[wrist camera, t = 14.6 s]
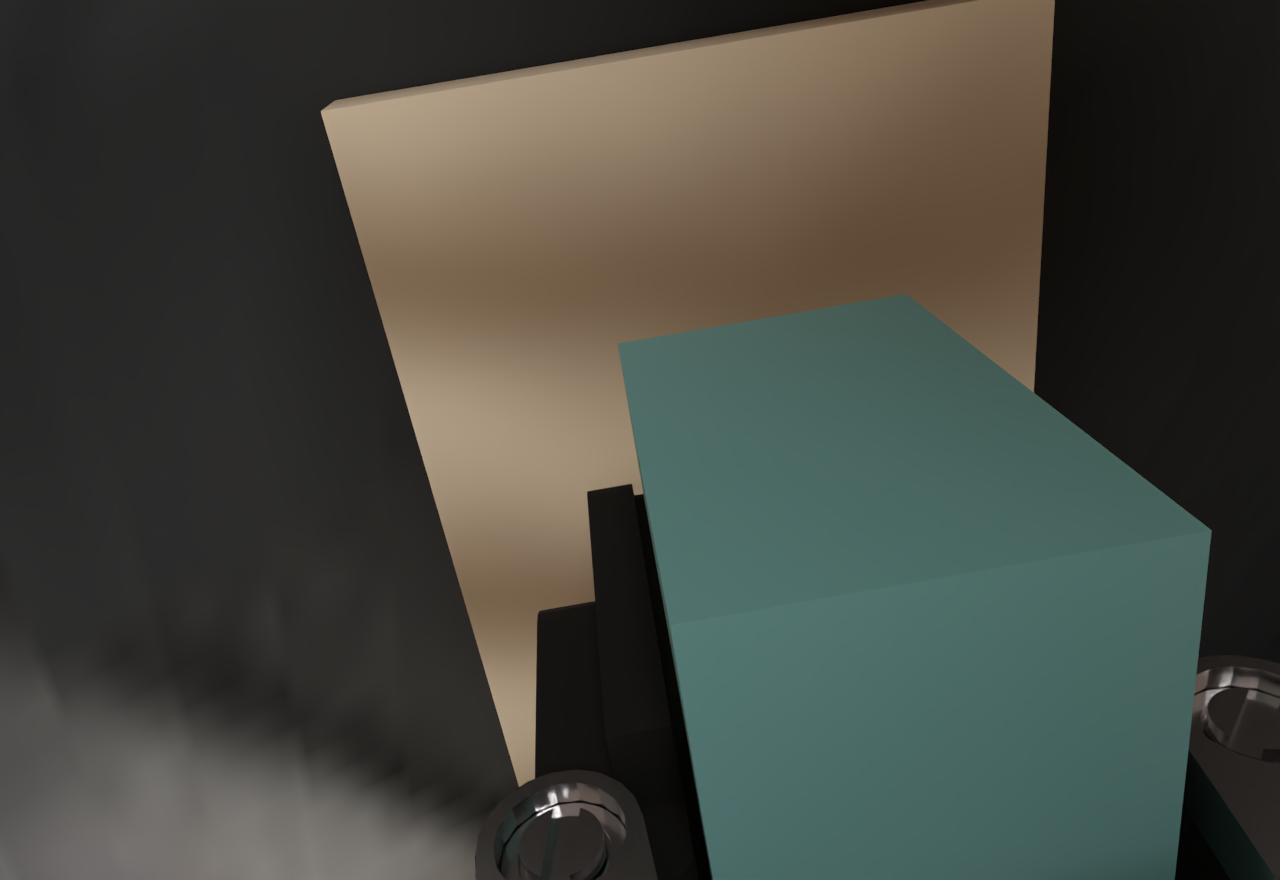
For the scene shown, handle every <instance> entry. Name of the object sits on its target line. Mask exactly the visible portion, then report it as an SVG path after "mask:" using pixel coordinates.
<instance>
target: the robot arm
mask: <svg viewBox="0 0 1280 880" xmlns="http://www.w3.org/2000/svg"><path fill="white" fill-rule="evenodd" d="M587 500H588V513H589V527H590V540H591V553H592V567H593V580H594V593H595V601H593V602H587V603H581V604H575V605H570V606H564V607H558V608H553V609H547V610H541V611H539V613H538V618H537V663H536V732H535V779H533V780H530V781H528V782H526V783H525V784H523V785H522V786H520V787H519V788H517V789H516V790H514V791H513V792H511V793H510V794H508V795H507V796H506V797H505V798H504V799H503V800H502V801H501V802H500V803H499V804H498V805H497V806H496V807H495V808H494V810H493V811H492V812H491V813H490V814H489V816H488V818H487V820H486V822H485V824H484V826H483V827H482V829H481V831H480V833H479V836H478V842H477V849H476V855H475V868H476V880H711V876H710V870H709V864H708V858H707V852H706V846H705V840H704V834H703V828H702V823H701V817H700V811H699V805H698V799H697V793H696V787H695V781H694V775H693V770H692V764H691V758H690V752H689V746H688V740H687V734H686V729H685V723H684V717H683V712H682V706H681V700H680V695H679V689H678V684H677V678H676V672H675V667H674V661H673V656H672V650H671V645H670V639H669V634H668V628H667V622H666V617H665V611H664V606H663V600H662V595H661V589H660V584H659V578H658V572H657V567H656V561H655V556H654V550H653V545H652V539H651V534H650V528H649V522H648V517H647V511H646V506H645V500H644V495H643V494H640V495H634V491H633V486H632V484H627V485H621V486H615V487H609V488H604V489H598V490H592V491H587ZM1175 880H1280V664H1277V663H1275V662H1272V661H1268V660H1262V659H1257V658H1251V657H1245V656H1209V657H1205V658H1201V659H1198V664H1197V673H1196V683H1195V692H1194V702H1193V711H1192V721H1191V730H1190V740H1189V749H1188V758H1187V768H1186V777H1185V787H1184V796H1183V806H1182V815H1181V825H1180V834H1179V844H1178V853H1177V862H1176V872H1175Z"/></svg>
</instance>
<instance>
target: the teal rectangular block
mask: <svg viewBox="0 0 1280 880" xmlns="http://www.w3.org/2000/svg"><path fill="white" fill-rule="evenodd" d="M618 349H619V355H620V360H621V366H622V372H623V378H624V384H625V390H626V395H627V401H628V407H629V413H630V419H631V425H632V430H633V436H634V442H635V448H636V454H637V460H638V466H639V471H640V477H641V483H642V489H643V495H644V500H645V506H646V511H647V517H648V522H649V528H650V534H651V539H652V545H653V550H654V556H655V561H656V567H657V572H658V578H659V584H660V589H661V595H662V600H663V606H664V611H665V617H666V622H667V628H668V634H669V639H670V645H671V650H672V656H673V661H674V667H675V672H676V678H677V684H678V689H679V695H680V700H681V706H682V712H683V717H684V723H685V729H686V734H687V740H688V746H689V752H690V758H691V764H692V770H693V775H694V781H695V787H696V793H697V799H698V805H699V811H700V817H701V823H702V828H703V834H704V840H705V846H706V852H707V858H708V864H709V870H710V876H711V880H1175V872H1176V862H1177V853H1178V844H1179V834H1180V825H1181V815H1182V806H1183V796H1184V787H1185V777H1186V768H1187V758H1188V749H1189V740H1190V730H1191V721H1192V711H1193V702H1194V692H1195V683H1196V673H1197V664H1198V654H1199V645H1200V635H1201V626H1202V617H1203V607H1204V598H1205V588H1206V579H1207V569H1208V560H1209V550H1210V541H1211V531H1212V530H1210V529H1209V528H1208V527H1207V526H1205V525H1204V524H1203V523H1201V522H1200V521H1199V520H1197V519H1196V518H1195V517H1194V516H1192V515H1191V514H1190V513H1188V512H1187V511H1186V510H1185V509H1183V508H1182V507H1181V506H1179V505H1178V504H1177V503H1176V502H1174V501H1173V500H1172V499H1170V498H1169V497H1168V496H1166V495H1165V494H1164V493H1163V492H1161V491H1160V490H1159V489H1157V488H1156V487H1155V486H1154V485H1152V484H1151V483H1150V482H1148V481H1147V480H1146V479H1145V478H1143V477H1142V476H1141V475H1139V474H1138V473H1137V472H1136V471H1134V470H1133V469H1132V468H1130V467H1129V466H1128V465H1126V464H1125V463H1124V462H1123V461H1121V460H1120V459H1119V458H1117V457H1116V456H1115V455H1114V454H1112V453H1111V452H1110V451H1108V450H1107V449H1106V448H1105V447H1103V446H1102V445H1101V444H1099V443H1098V442H1097V441H1095V440H1094V439H1093V438H1092V437H1090V436H1089V435H1088V434H1086V433H1085V432H1084V431H1083V430H1081V429H1080V428H1079V427H1077V426H1076V425H1075V424H1074V423H1072V422H1071V421H1070V420H1068V419H1067V418H1066V417H1064V416H1063V415H1062V414H1061V413H1059V412H1058V411H1057V410H1055V409H1054V408H1053V407H1052V406H1050V405H1049V404H1048V403H1046V402H1045V401H1044V400H1043V399H1041V398H1040V397H1039V396H1037V395H1036V394H1035V393H1033V392H1032V391H1031V390H1030V389H1028V388H1027V387H1026V386H1024V385H1023V384H1022V383H1021V382H1019V381H1018V380H1017V379H1015V378H1014V377H1013V376H1012V375H1010V374H1009V373H1008V372H1006V371H1005V370H1004V369H1003V368H1001V367H1000V366H999V365H997V364H996V363H995V362H993V361H992V360H991V359H990V358H988V357H987V356H986V355H984V354H983V353H982V352H981V351H979V350H978V349H977V348H975V347H974V346H973V345H972V344H970V343H969V342H968V341H966V340H965V339H964V338H962V337H961V336H960V335H959V334H957V333H956V332H955V331H953V330H952V329H951V328H950V327H948V326H947V325H946V324H944V323H943V322H942V321H941V320H939V319H938V318H937V317H935V316H934V315H933V314H931V313H930V312H929V311H928V310H926V309H925V308H924V307H922V306H921V305H920V304H919V303H917V302H916V301H915V300H913V299H912V298H911V297H910V296H908V295H907V294H902V295H897V296H891V297H885V298H879V299H873V300H868V301H862V302H856V303H850V304H844V305H838V306H833V307H827V308H821V309H815V310H809V311H804V312H798V313H792V314H786V315H780V316H775V317H769V318H763V319H757V320H751V321H745V322H740V323H734V324H728V325H722V326H716V327H711V328H705V329H699V330H693V331H687V332H682V333H676V334H670V335H664V336H658V337H652V338H647V339H641V340H635V341H629V342H623V343H618Z"/></svg>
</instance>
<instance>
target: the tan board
mask: <svg viewBox="0 0 1280 880" xmlns="http://www.w3.org/2000/svg"><path fill="white" fill-rule="evenodd" d="M1054 7H1055V0H928V1H922V2H916V3H910V4H904V5H898V6H892V7H886V8H880V9H874V10H868V11H863V12H857V13H851V14H845V15H839V16H833V17H827V18H821V19H815V20H809V21H803V22H797V23H791V24H785V25H779V26H774V27H768V28H762V29H756V30H750V31H744V32H738V33H732V34H726V35H720V36H714V37H708V38H702V39H696V40H690V41H685V42H679V43H673V44H667V45H661V46H655V47H649V48H643V49H637V50H631V51H625V52H619V53H613V54H607V55H601V56H596V57H590V58H584V59H578V60H572V61H566V62H560V63H554V64H548V65H542V66H536V67H530V68H524V69H518V70H512V71H507V72H501V73H495V74H489V75H483V76H477V77H471V78H465V79H459V80H453V81H447V82H441V83H435V84H429V85H423V86H418V87H412V88H406V89H400V90H394V91H388V92H382V93H376V94H370V95H364V96H358V97H352V98H346V99H340V100H335V101H334V102H332V103H331V104H330V105H328V106H327V107H326V108H324V109H323V110H322V111H321V115H322V118H323V121H324V125H325V128H326V132H327V135H328V138H329V142H330V145H331V149H332V152H333V155H334V159H335V162H336V166H337V169H338V172H339V176H340V179H341V183H342V186H343V189H344V193H345V196H346V200H347V203H348V206H349V210H350V213H351V217H352V220H353V223H354V227H355V230H356V234H357V237H358V240H359V244H360V247H361V251H362V254H363V257H364V261H365V264H366V268H367V271H368V274H369V278H370V281H371V285H372V288H373V292H374V295H375V298H376V302H377V305H378V309H379V312H380V315H381V319H382V322H383V326H384V329H385V332H386V336H387V339H388V343H389V346H390V349H391V353H392V356H393V360H394V363H395V366H396V370H397V373H398V377H399V380H400V383H401V387H402V390H403V394H404V397H405V400H406V404H407V407H408V411H409V414H410V417H411V421H412V424H413V428H414V431H415V434H416V438H417V441H418V445H419V448H420V451H421V455H422V458H423V462H424V465H425V469H426V472H427V475H428V479H429V482H430V486H431V489H432V492H433V496H434V499H435V503H436V506H437V509H438V513H439V516H440V520H441V523H442V526H443V530H444V533H445V537H446V540H447V543H448V547H449V550H450V554H451V557H452V560H453V564H454V567H455V571H456V574H457V577H458V581H459V584H460V588H461V591H462V594H463V598H464V601H465V605H466V608H467V611H468V615H469V618H470V622H471V625H472V629H473V632H474V635H475V639H476V642H477V646H478V649H479V652H480V656H481V659H482V663H483V666H484V669H485V673H486V676H487V680H488V683H489V686H490V690H491V693H492V697H493V700H494V703H495V707H496V710H497V714H498V717H499V720H500V724H501V727H502V731H503V734H504V737H505V741H506V744H507V748H508V751H509V754H510V758H511V761H512V765H513V768H514V771H515V775H516V778H517V782H518V785H519V787H520V786H522V785H523V784H525V783H526V782H528V781H530V780H533V779H535V732H536V663H537V618H538V613H539V611H541V610H547V609H553V608H558V607H564V606H570V605H575V604H581V603H587V602H593V601H595V593H594V580H593V567H592V553H591V540H590V527H589V513H588V500H587V491H592V490H598V489H604V488H609V487H615V486H621V485H627V484H632V486H633V491H634V495H640V494H643V489H642V483H641V477H640V471H639V466H638V460H637V454H636V448H635V442H634V436H633V430H632V425H631V419H630V413H629V407H628V401H627V395H626V390H625V384H624V378H623V372H622V366H621V360H620V355H619V349H618V343H623V342H629V341H635V340H641V339H647V338H652V337H658V336H664V335H670V334H676V333H682V332H687V331H693V330H699V329H705V328H711V327H716V326H722V325H728V324H734V323H740V322H745V321H751V320H757V319H763V318H769V317H775V316H780V315H786V314H792V313H798V312H804V311H809V310H815V309H821V308H827V307H833V306H838V305H844V304H850V303H856V302H862V301H868V300H873V299H879V298H885V297H891V296H897V295H902V294H907V295H908V296H910V297H911V298H912V299H913V300H915V301H916V302H917V303H919V304H920V305H921V306H922V307H924V308H925V309H926V310H928V311H929V312H930V313H931V314H933V315H934V316H935V317H937V318H938V319H939V320H941V321H942V322H943V323H944V324H946V325H947V326H948V327H950V328H951V329H952V330H953V331H955V332H956V333H957V334H959V335H960V336H961V337H962V338H964V339H965V340H966V341H968V342H969V343H970V344H972V345H973V346H974V347H975V348H977V349H978V350H979V351H981V352H982V353H983V354H984V355H986V356H987V357H988V358H990V359H991V360H992V361H993V362H995V363H996V364H997V365H999V366H1000V367H1001V368H1003V369H1004V370H1005V371H1006V372H1008V373H1009V374H1010V375H1012V376H1013V377H1014V378H1015V379H1017V380H1018V381H1019V382H1021V383H1022V384H1023V385H1024V386H1026V387H1027V388H1028V389H1030V390H1031V391H1032V392H1033V393H1034V380H1035V361H1036V343H1037V324H1038V305H1039V287H1040V268H1041V249H1042V231H1043V212H1044V193H1045V175H1046V156H1047V137H1048V119H1049V100H1050V81H1051V63H1052V44H1053V25H1054Z"/></svg>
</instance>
